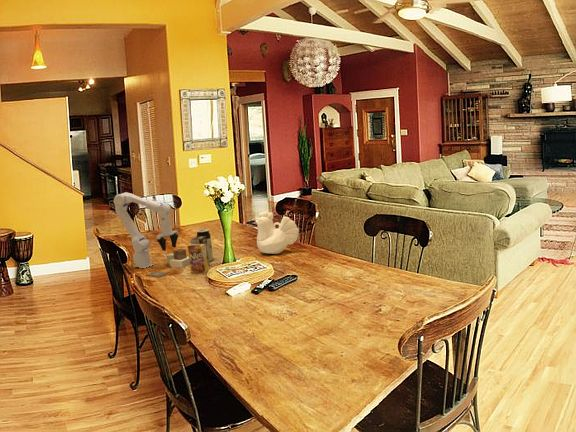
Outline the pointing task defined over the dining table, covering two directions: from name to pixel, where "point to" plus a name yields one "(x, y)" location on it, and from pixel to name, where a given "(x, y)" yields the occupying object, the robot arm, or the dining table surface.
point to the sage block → (170, 257)
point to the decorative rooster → (275, 233)
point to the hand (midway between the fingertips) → (169, 248)
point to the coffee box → (201, 241)
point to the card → (157, 274)
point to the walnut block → (179, 254)
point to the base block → (179, 262)
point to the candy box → (197, 258)
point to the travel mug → (206, 233)
